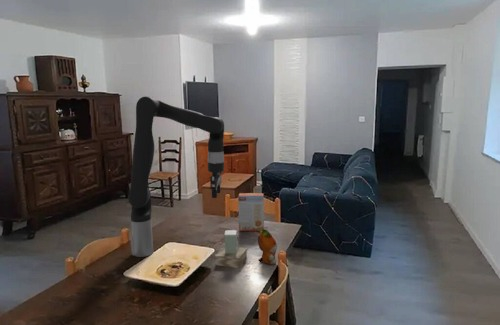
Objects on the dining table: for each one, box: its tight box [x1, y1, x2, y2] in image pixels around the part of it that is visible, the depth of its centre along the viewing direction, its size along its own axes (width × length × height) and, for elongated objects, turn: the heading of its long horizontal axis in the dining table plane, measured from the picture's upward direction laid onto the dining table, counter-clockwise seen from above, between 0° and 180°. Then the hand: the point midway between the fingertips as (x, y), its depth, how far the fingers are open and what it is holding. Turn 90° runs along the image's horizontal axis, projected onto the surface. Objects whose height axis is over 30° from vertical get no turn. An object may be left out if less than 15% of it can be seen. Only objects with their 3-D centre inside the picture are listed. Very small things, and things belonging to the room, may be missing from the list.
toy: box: [257, 228, 278, 265], centre depth 166 cm, size 11×9×15 cm
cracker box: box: [237, 192, 265, 232], centre depth 205 cm, size 14×6×21 cm, turn 84°
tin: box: [224, 229, 238, 254], centre depth 166 cm, size 5×5×9 cm
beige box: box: [214, 245, 248, 269], centre depth 167 cm, size 11×11×5 cm
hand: (216, 195), depth 170 cm, fingers open, 8 cm apart
